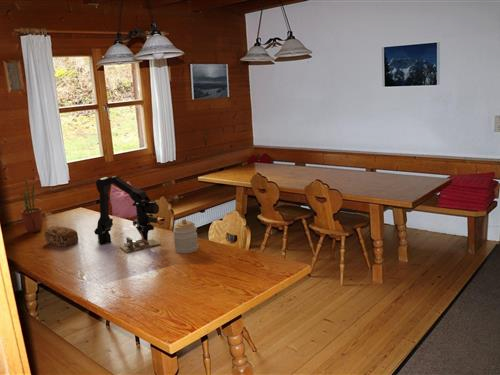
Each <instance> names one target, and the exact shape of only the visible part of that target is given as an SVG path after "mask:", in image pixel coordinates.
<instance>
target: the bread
mask: <svg viewBox="0 0 500 375" xmlns="http://www.w3.org/2000/svg"><path fill="white" fill-rule="evenodd" d="M43 236H44V238H45V239H44V240H45V242H46V243H47V245H49V244H50V245H53V246H58V247H69V246H71V245H75V244H77V243H79V236H78V232H77V230H75V229H73V228H70V227H67V226H58V225H57V226H50V227H48V228H46V229H45V230H44V234H43Z"/></svg>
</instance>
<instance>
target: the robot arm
mask: <svg viewBox="0 0 500 375" xmlns="http://www.w3.org/2000/svg"><path fill="white" fill-rule="evenodd" d="M112 184H113V185H114V186H116V187H117V188H118V189H120V190H121V191H123V192H125V193H126V194H128V196H129V197H130V199H131V200H132V201H133V203H132V207H135V210H136V214H135V217H136V219H134V220H133V221H132V225H133V226H134V227H135V229H136V230H137V232H138V233H139V235H140V236H141V233H142V235H143V237H144V239H145V240H147V236H149V232H150V231H153V230H155V226H154V224H158V219H159V218H158V217H157V216H154V215H156V214H159V211H160V205H159V204H158V203H157V201H152V200H151V198H149V196H148V195H147V192H146V191H145V190H142V189H140V188H136V187H134V186H133V185H131V184H129V183H128V182H126V181H125V180H123V179H122V178H121V177H120V176H119V175H114V176H111V177H107V176H105V177H102V178H99V179H97V180H96V181H95V186H96V190H97V192H98V193H99V218H98V221H97V226H96V227H95V229H94V231H93V233H94V234H95V236H97V239H98V240H97V243H98V244H99V245H105V244H110V243H112V237H111V233H110V231H112V227H113V225H114V223H113V219H114V218H111V217H110V212H109V210H110V209H109V208H110V206H109V205H110V204H109V192H110V190H111V189H112V188H111V187H112ZM151 223H152V224H151Z"/></svg>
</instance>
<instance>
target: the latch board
mask: <svg viewBox="0 0 500 375" xmlns="http://www.w3.org/2000/svg"><path fill="white" fill-rule="evenodd" d="M125 238H126V240H125V241H126V243H128V242H129V243H130V246H127V247H125V246H124V245H121V246H120V249H121V250H122V251H123V252H124V253H126V254H130V253H134V252H138V251H141V250H147V249H150V248H154V247H155V248H156V247H159V246H161V245H162V244H161V242H159V241H158V240H156V239H154V238H152V239H148V241H147V242H143V243H139V244H135V245H133V241H134V240H133V238H131V237H129V236H127V237H125Z"/></svg>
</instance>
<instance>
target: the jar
mask: <svg viewBox="0 0 500 375" xmlns="http://www.w3.org/2000/svg"><path fill="white" fill-rule="evenodd" d="M173 227H174V229H173V230H172V232H173V234H174V235H173V240H174V250H175V252H176V253H178V254H191V253H194V252H197V251H198V250H199V240H198V232H197V230H198V229H197V226H196V223H195V222H192V221H191V220H187V219H186V218H183V219H181V221H178V222H177V223H176V224H174V226H173Z"/></svg>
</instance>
